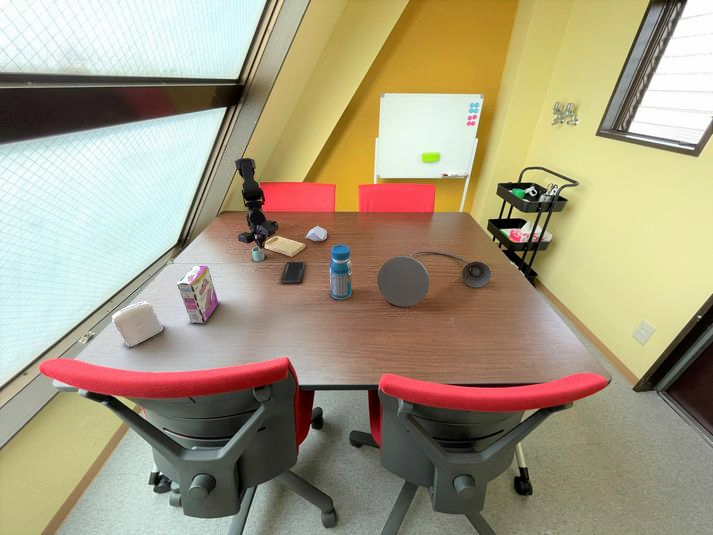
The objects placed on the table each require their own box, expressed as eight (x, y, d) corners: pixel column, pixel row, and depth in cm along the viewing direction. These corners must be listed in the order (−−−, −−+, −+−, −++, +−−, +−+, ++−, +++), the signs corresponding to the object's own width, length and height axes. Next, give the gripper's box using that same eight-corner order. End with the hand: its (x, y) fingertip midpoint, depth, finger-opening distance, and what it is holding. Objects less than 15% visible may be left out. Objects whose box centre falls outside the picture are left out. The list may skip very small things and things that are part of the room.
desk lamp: (489, 327, 97) (374, 300, 108) (480, 287, 138) (397, 270, 149) (503, 275, 91) (380, 252, 103) (489, 249, 133) (403, 235, 144)
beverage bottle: (335, 302, 108) (334, 256, 97) (327, 290, 114) (324, 246, 103) (355, 296, 111) (356, 251, 100) (346, 285, 117) (346, 241, 106)
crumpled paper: (322, 245, 146) (328, 234, 156) (322, 233, 142) (328, 222, 153) (305, 244, 146) (312, 232, 157) (304, 232, 143) (311, 221, 154)
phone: (280, 281, 117) (287, 261, 129) (281, 283, 117) (287, 264, 130) (300, 281, 117) (304, 261, 129) (300, 283, 117) (305, 264, 130)
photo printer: (129, 349, 88) (111, 319, 81) (124, 342, 90) (106, 312, 83) (165, 330, 94) (151, 301, 88) (160, 324, 97) (146, 295, 90)
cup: (251, 259, 133) (249, 250, 130) (258, 254, 137) (257, 245, 134) (259, 262, 131) (257, 252, 128) (266, 257, 135) (265, 248, 132)
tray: (262, 247, 143) (261, 243, 142) (276, 239, 151) (276, 235, 150) (291, 256, 135) (291, 253, 134) (305, 247, 143) (305, 243, 142)
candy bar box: (205, 324, 97) (191, 284, 88) (191, 323, 97) (175, 284, 88) (219, 302, 107) (208, 265, 98) (206, 302, 107) (193, 264, 98)
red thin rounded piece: (254, 256, 134) (251, 238, 129) (256, 256, 135) (252, 237, 129) (266, 261, 131) (263, 242, 126) (268, 260, 132) (265, 241, 127)
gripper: (254, 228, 111) (260, 262, 119) (285, 212, 125) (289, 244, 133) (233, 222, 115) (241, 255, 123) (266, 207, 129) (271, 238, 137)
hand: (262, 248), depth 129 cm, fingers closed on red thin rounded piece, 1 cm apart
